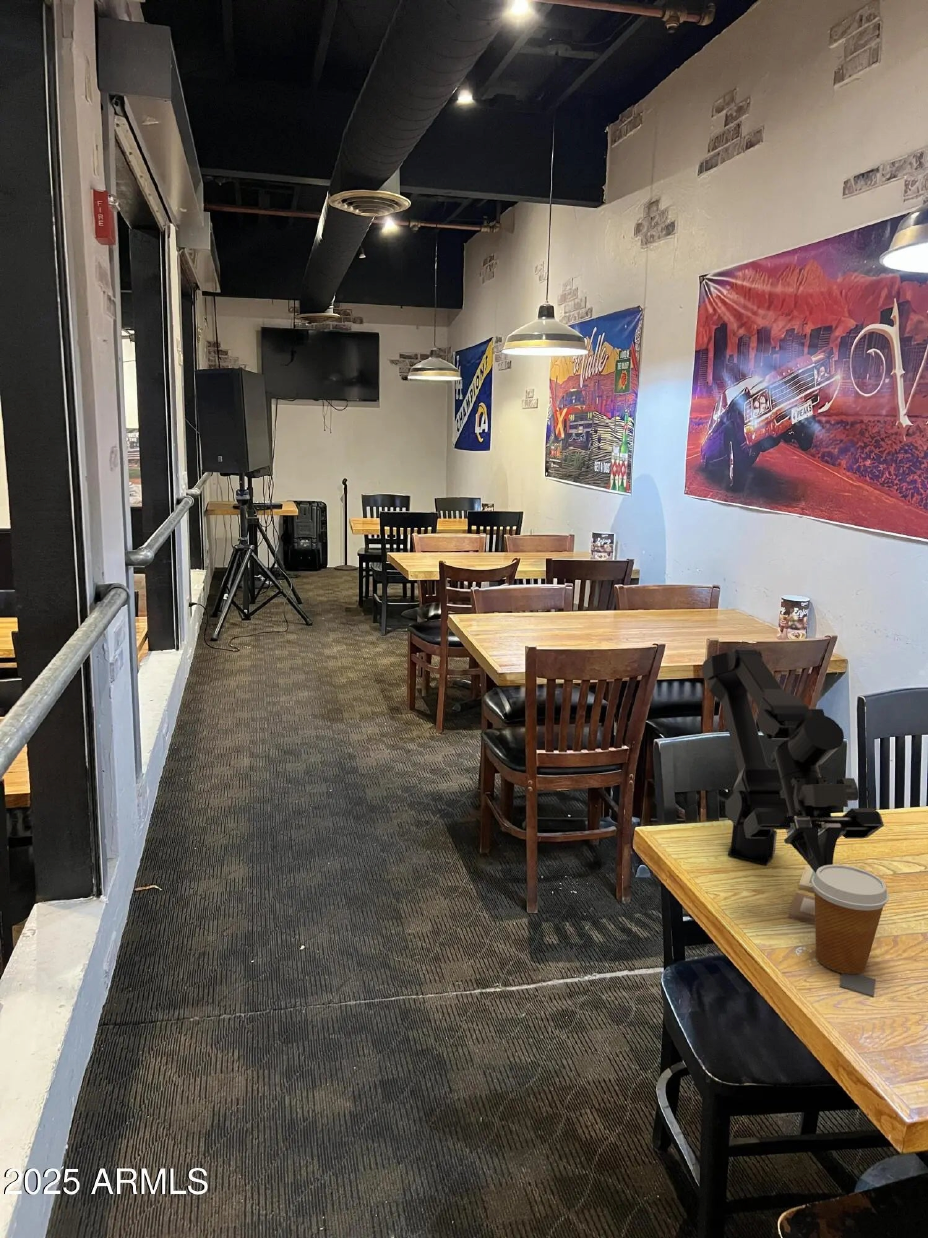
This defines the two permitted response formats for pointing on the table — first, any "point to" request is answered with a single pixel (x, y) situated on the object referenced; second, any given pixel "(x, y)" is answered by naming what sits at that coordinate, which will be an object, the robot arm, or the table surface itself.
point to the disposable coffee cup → (846, 916)
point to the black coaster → (858, 983)
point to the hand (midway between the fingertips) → (827, 882)
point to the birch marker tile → (807, 879)
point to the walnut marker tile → (803, 908)
